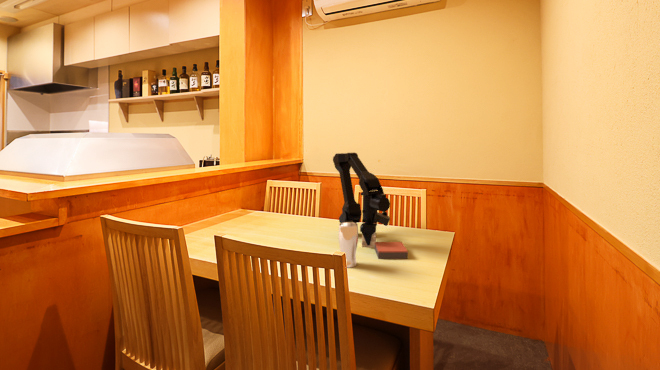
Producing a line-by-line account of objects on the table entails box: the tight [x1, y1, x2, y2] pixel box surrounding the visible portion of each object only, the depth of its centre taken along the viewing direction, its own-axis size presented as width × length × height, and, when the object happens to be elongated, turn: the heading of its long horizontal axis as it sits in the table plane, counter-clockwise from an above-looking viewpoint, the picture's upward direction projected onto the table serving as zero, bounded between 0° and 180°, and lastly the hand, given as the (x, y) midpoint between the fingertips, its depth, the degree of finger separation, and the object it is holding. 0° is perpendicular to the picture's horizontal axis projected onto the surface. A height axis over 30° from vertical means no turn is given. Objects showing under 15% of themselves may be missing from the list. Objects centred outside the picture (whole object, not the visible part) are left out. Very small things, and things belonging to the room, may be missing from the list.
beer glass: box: [338, 222, 359, 268], centre depth 118 cm, size 7×7×15 cm
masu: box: [361, 232, 377, 249], centre depth 141 cm, size 6×6×5 cm
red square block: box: [374, 241, 409, 260], centre depth 130 cm, size 11×11×4 cm
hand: (369, 242), depth 141 cm, fingers open, 6 cm apart
